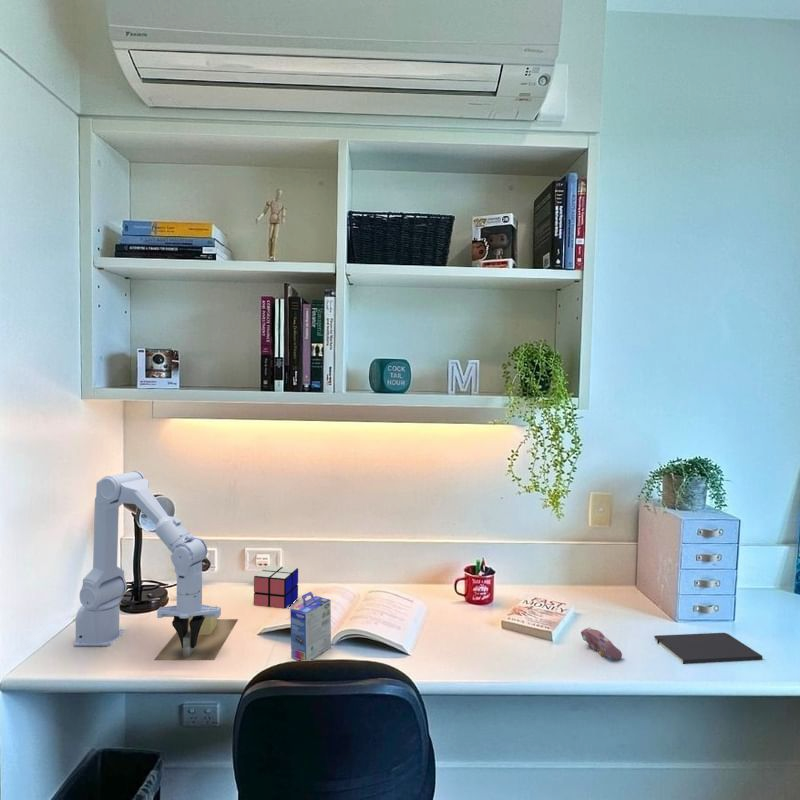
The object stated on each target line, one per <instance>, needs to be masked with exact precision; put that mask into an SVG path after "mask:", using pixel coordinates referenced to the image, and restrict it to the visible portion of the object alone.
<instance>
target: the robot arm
mask: <svg viewBox="0 0 800 800" xmlns="http://www.w3.org/2000/svg"><path fill="white" fill-rule="evenodd" d="M149 487H150V481H149V480H148V479H147V478H146V476H145V475H144V474H143V473H142V472H141V471H139V470H131V471H129V472H123V473H118V474H113V475H105V476H103V477H102V478H101V479H99V481H97V482H96V487H95V488H96V490H95V491H96V492H95V495H96V496H95V499H94V512H93V513H94V515H93V516H94V517H93V551H92V552H93V554H92V555H93V556H92V557H93V558H92V569H91V570H90V571H89V572H88V573H87V574H86V576H85V577H84V578H83V580H82V585H81V589H80V591H79V602H80V604H81V606H80V607H79V608H78V610H77V612H76V616H75V642H74V643H73V645H74V647H77V646H78V647H79V646H81V647H85V646H86V647H87V646H88V647H89V646H92V647H94V646H95V647H97V646H98V647H100V646H101V647H103V646H105V647H108V646H109V647H110V646H111V645H113V644H114V643H115V642H116V641H117V640H118V639H119V638H120V637H121V635H123V634H124V633H125V632H126V629H120V602H121V601H122V600H123V599H122V597H123V596H125V594H126V593H127V592H126V591H127V587H128V586H127V585H128V584H127V581H126V579H125V578H126V577H125V571H124V569H122V568H120V567H119V566H118V550H119V549H118V548H119V547H118V545H119V543H118V541H119V516H120V515H119V511H120V509H119V508H120V506H122V505H124V504H127V505H128V504H129V505H130V504H131V505H135V506H136V507H137V508H138V509H139V510H141V512H143V514H144V515H145V516H146V517H147V518H148V519H149V520H150V521H151V522H152V523H153V524H154V525H155V530H154V531H155V534H156V535H157V537H158V538H159V539H160V541H161V542H162V543H163V544H164V545H165V546H166V547H167V548H168V550H169V551H170V553H172V554H171V555H170V559H171V563H172V565H173V566H174V573H175V575H176V605H169V606H160V607H159V608H158V609H157V610H156V611H157V612H156V615H157V616H156V617H157V619H162V618H173V620H172V622H171V625H172V627H173V628H174V629H175V631H176V632H177V633H178V636H179V638H180V641H181V645H182V648H183V638H184V636H185V635H186V634H187V633H188V621H189V617H193V618H192V619H191V621H190V622H189V625H190V631H191V648H194V647H195V646H196V644H197V638H198V634H199V631H200V628H201V626H202V623H203V621H204V619H205V617H214V618H217V619H220V616H221V615H222V606H217V607H213V606H207V605H208V604H203V560H205V559H206V557H207V555H208V547H207V544H206V542H205V541H204V539H202V538H201V537H197V536H195V535H194V534H191V533H190V532H189V531H188V529H187V528H186V527H185V525H184V524H182V521H181V520H180V518H177V517H176V516H169V515H168V514H167V512H166V511H165V509H164V508H163V507H162V505H161V504H160V502H159V501H158V499H157V498H156V497H155V495H154V494H153V492H152V491H151V490H150V488H149Z"/></svg>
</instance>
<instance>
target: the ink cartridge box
mask: <svg viewBox="0 0 800 800" xmlns="http://www.w3.org/2000/svg"><path fill="white" fill-rule="evenodd" d="M307 597H310V598H308V599H307V600H306V598H307ZM301 599H302V601H303V602H302V603H300V604H298V605H296V606H295V607H292V608H291V609H290V608H289V610H290V611H289V612H290V613H289V615H290V650H291V652H290V653H291V659H294V660H296V661H299V660H310V661H312V660H314V659H315V658H316V657H318V656H320V654H322V653H324V652H326V651H327V650H328V649H330V648H331V646H332V626H331V625H332V621H331V620H332V617H331V616H332V612H331V609H332V608H331V603H332V602H331V599H329V598H324V597H321V596H318V595H313V592H312V591H309V592H307V593H304V594H302V595H301ZM311 659H312V660H311Z"/></svg>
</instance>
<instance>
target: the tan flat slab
mask: <svg viewBox="0 0 800 800" xmlns="http://www.w3.org/2000/svg"><path fill="white" fill-rule="evenodd" d="M238 621H239V619H238V618H233V619H231V618H230V619H229V618H228V619H227V618H217V626H216V627H215V629H214V630H213V632H212V633H211V635H198V638H197V644H196V646H195V647H194V648H191V631H189V621H188V633H187V634H186V635H185V636H184V638H183V648H182V645H181V641H180V638H179V636H178V633H177V631H176V632H175V633H174V635H172V637H171V638H170V639H169V641H168V642H167V643H166V645H164V647H163V648H162V649H161V651H160V652H159V653H158V654H157V655H156V657H155V658H154V659H153V661H215V660H216V657H217V656H218V655H219V652H221V649H222V648H223V646H224V644H225V643H226V641H227V639H228V637H229V635H230V634H231V633H232V630H233V629H234V627H235V626H236V624H237V622H238Z"/></svg>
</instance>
